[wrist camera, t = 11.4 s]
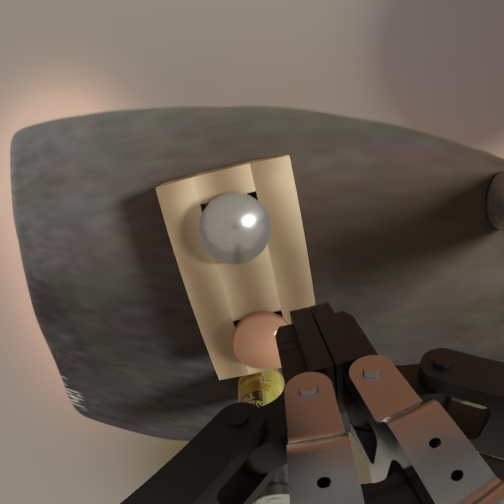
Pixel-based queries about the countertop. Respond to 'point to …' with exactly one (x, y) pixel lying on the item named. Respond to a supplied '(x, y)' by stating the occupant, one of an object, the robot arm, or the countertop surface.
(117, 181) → the countertop surface
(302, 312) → the robot arm
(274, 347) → the terracotta peg
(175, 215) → the beech block
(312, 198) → the countertop surface
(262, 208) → the grey peg
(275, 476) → the sauce bottle
